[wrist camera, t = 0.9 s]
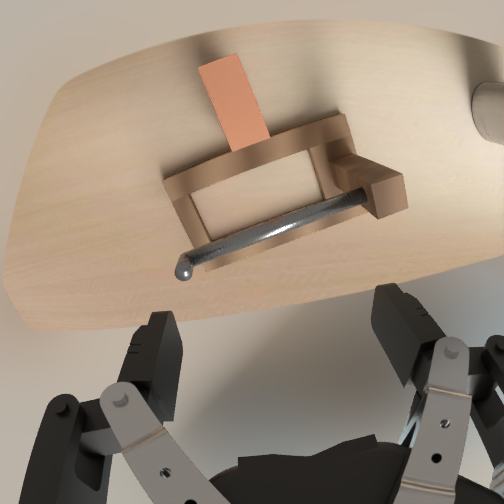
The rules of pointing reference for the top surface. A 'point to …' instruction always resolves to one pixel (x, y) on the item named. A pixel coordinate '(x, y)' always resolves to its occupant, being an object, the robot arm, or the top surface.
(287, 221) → the hook arm
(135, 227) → the top surface
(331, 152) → the wooden hook stand
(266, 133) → the salmon wooden arch
